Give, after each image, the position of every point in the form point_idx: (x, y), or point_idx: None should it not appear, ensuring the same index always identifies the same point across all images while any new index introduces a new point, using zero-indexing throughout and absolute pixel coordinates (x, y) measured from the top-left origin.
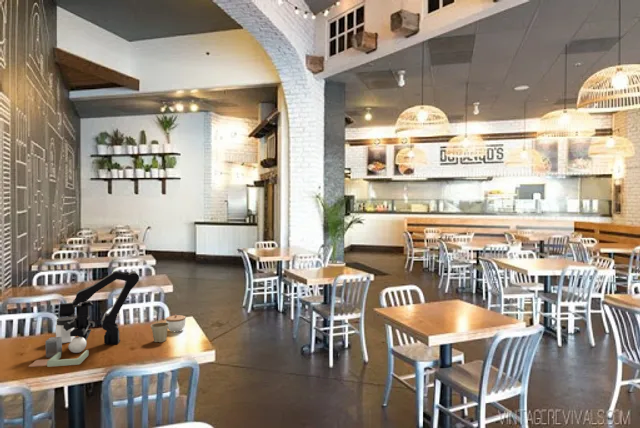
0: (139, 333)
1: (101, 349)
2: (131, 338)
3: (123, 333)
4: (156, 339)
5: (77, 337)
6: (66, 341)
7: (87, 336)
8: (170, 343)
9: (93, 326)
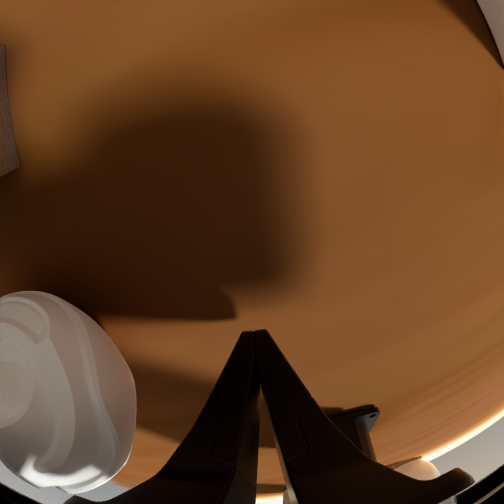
0: (449, 422)
1: (186, 430)
2: (386, 442)
3: (496, 373)
4: (284, 498)
5: (10, 470)
6: (495, 20)
7: (281, 468)
8: (266, 497)
9: (460, 502)
